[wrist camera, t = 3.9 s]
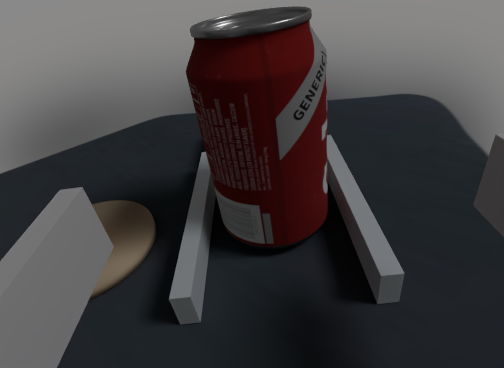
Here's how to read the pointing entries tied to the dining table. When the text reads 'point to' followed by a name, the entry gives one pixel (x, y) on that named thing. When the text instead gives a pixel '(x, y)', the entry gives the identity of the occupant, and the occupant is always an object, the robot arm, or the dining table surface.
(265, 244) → the soda can
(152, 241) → the cork coaster
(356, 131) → the dining table surface
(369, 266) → the channel
